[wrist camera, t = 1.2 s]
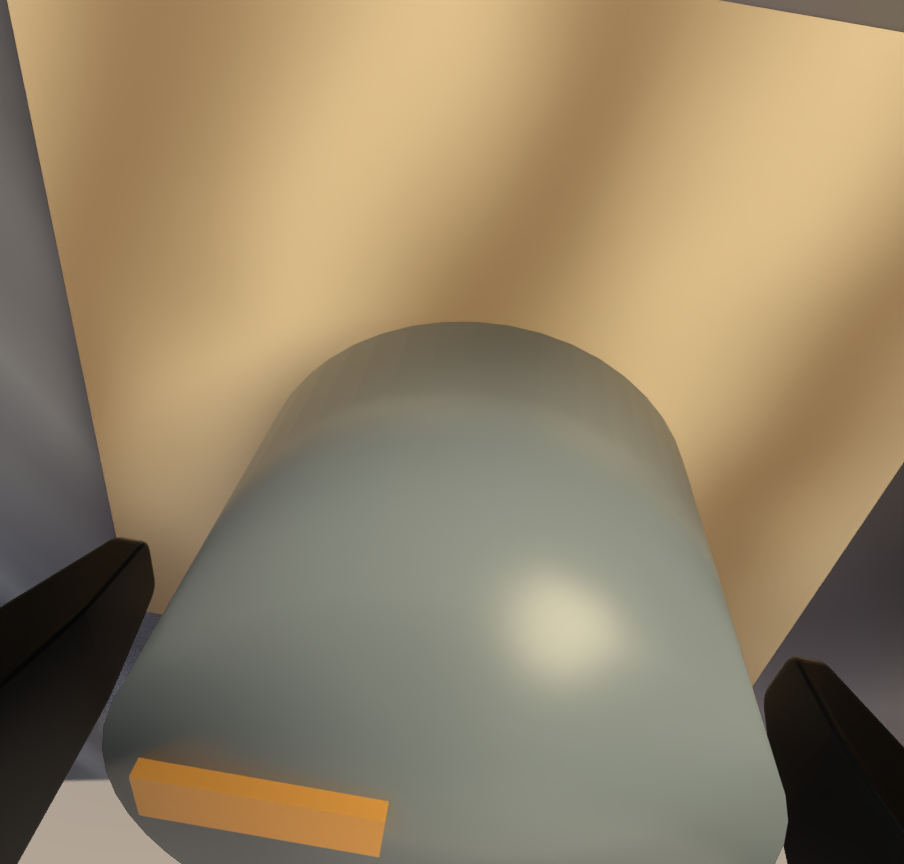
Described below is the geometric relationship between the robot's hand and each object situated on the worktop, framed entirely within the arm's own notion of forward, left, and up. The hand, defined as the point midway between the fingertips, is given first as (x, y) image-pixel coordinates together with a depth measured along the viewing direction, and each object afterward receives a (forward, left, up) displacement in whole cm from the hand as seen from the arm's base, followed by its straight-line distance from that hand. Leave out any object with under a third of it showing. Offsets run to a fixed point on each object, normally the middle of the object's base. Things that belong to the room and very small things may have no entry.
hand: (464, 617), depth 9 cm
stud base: (0, 0, -6) cm, 6 cm away
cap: (0, 0, -2) cm, 2 cm away
